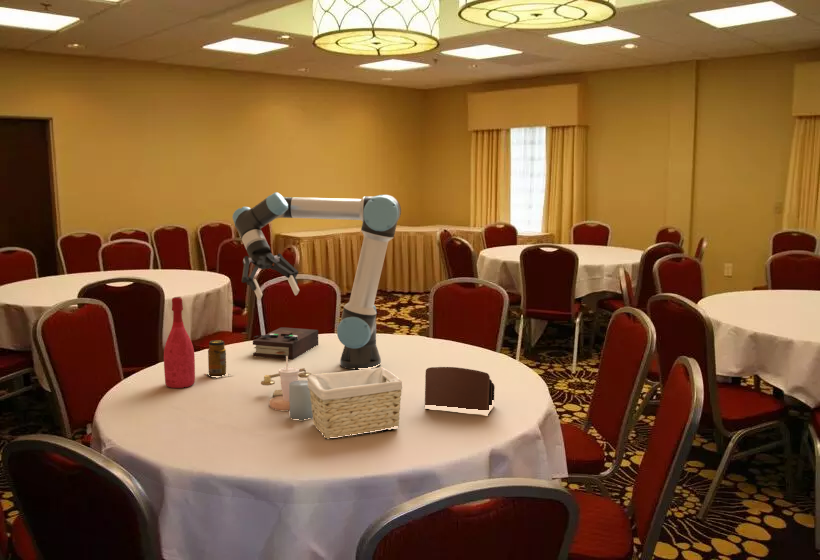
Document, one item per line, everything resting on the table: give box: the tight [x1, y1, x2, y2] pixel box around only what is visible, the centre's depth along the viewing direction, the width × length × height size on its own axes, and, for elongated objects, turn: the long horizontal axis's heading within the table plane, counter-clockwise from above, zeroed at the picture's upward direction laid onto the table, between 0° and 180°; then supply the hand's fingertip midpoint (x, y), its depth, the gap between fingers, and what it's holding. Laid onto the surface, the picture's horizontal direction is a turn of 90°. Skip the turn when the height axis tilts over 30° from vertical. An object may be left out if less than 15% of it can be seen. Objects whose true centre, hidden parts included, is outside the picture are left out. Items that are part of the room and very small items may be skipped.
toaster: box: [424, 366, 495, 410], centre depth 219 cm, size 10×20×14 cm, turn 73°
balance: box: [260, 367, 313, 398], centre depth 231 cm, size 16×5×9 cm, turn 93°
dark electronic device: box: [252, 326, 319, 361], centre depth 288 cm, size 19×8×30 cm
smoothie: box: [278, 356, 301, 402], centre depth 221 cm, size 6×6×14 cm
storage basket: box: [307, 366, 403, 439], centre depth 202 cm, size 24×16×15 cm
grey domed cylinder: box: [289, 379, 313, 421], centre depth 210 cm, size 7×7×10 cm
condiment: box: [207, 339, 234, 379], centre depth 252 cm, size 7×8×12 cm
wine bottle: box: [163, 296, 196, 389], centre depth 238 cm, size 10×10×30 cm
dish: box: [269, 395, 290, 412], centre depth 222 cm, size 12×12×1 cm
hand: (279, 295), depth 236 cm, fingers open, 13 cm apart
